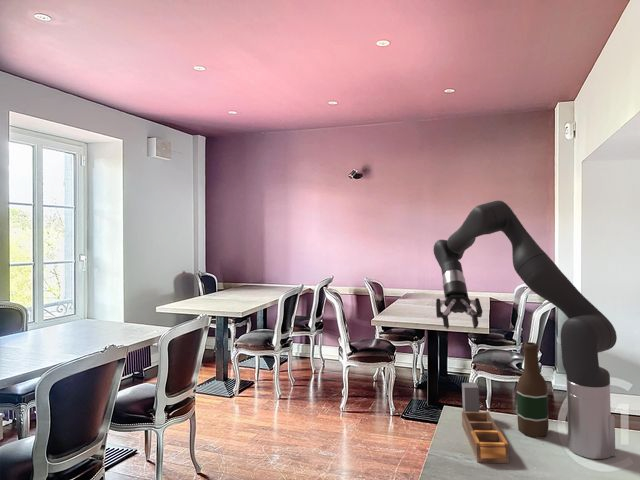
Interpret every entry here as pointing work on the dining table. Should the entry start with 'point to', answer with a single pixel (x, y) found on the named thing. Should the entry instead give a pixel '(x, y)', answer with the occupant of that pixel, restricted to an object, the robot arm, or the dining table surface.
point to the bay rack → (485, 437)
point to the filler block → (470, 397)
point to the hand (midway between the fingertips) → (461, 327)
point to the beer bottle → (532, 396)
